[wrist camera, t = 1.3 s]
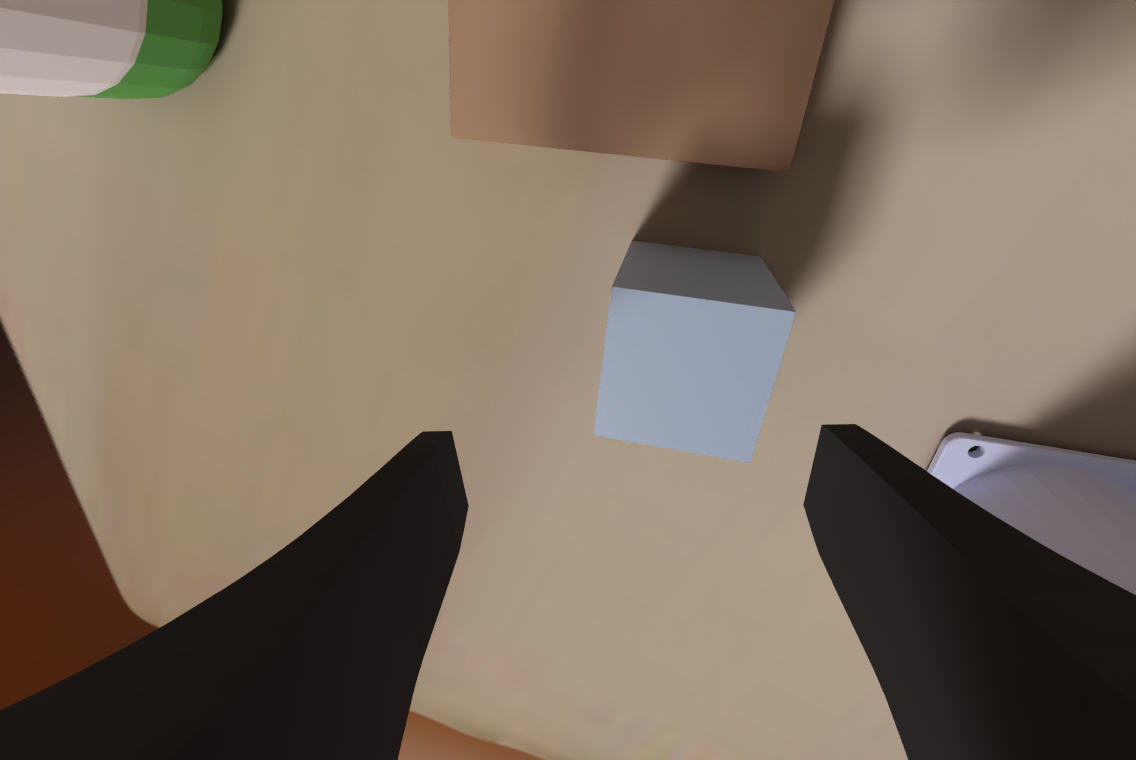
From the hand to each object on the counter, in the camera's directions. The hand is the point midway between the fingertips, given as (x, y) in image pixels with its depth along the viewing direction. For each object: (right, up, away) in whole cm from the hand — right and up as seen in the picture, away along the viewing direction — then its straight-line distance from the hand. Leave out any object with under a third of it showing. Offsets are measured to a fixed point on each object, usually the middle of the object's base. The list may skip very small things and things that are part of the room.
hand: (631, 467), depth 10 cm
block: (+3, +4, +8) cm, 10 cm away
